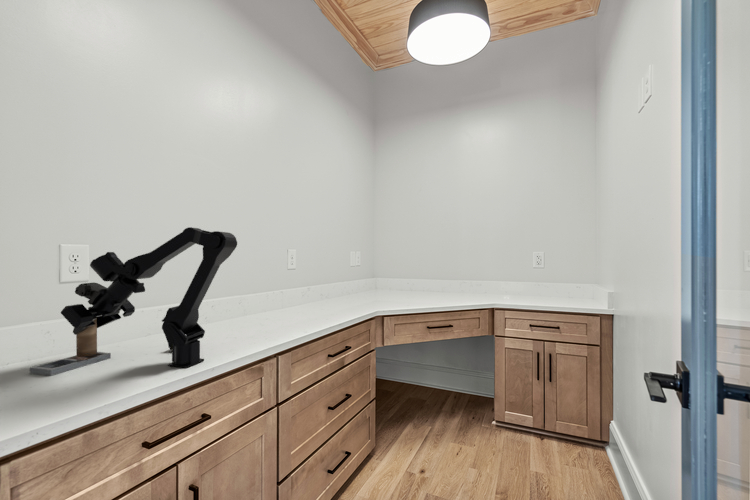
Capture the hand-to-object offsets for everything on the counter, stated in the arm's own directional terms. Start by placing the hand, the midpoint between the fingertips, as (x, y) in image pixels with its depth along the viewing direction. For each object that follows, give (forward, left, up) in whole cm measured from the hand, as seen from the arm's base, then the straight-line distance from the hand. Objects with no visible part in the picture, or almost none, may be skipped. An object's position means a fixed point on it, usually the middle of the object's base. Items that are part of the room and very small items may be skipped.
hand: (82, 331), depth 98 cm
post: (-1, 0, -7) cm, 7 cm away
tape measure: (-19, -17, -9) cm, 27 cm away
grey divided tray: (-1, +3, -9) cm, 9 cm away
